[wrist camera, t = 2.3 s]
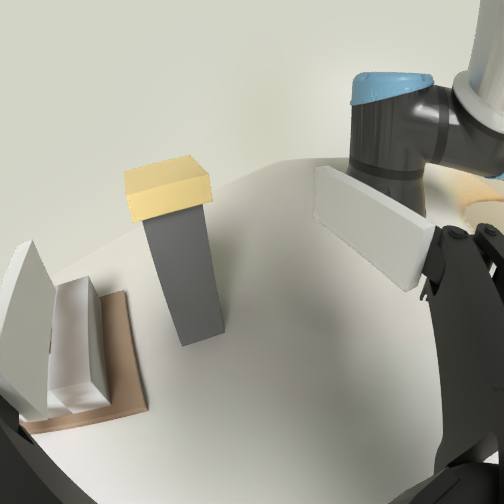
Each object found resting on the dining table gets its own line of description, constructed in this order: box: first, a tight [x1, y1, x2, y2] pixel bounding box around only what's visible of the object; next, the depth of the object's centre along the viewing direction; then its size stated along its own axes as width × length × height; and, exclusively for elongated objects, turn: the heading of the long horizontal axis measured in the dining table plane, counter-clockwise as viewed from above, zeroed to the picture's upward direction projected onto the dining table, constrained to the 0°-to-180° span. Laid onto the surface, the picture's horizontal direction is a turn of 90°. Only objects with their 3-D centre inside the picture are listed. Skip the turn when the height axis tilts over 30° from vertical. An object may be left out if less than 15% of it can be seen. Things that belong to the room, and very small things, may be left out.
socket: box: [19, 276, 148, 435], centre depth 24 cm, size 20×16×5 cm
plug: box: [124, 155, 225, 346], centre depth 25 cm, size 6×6×16 cm
